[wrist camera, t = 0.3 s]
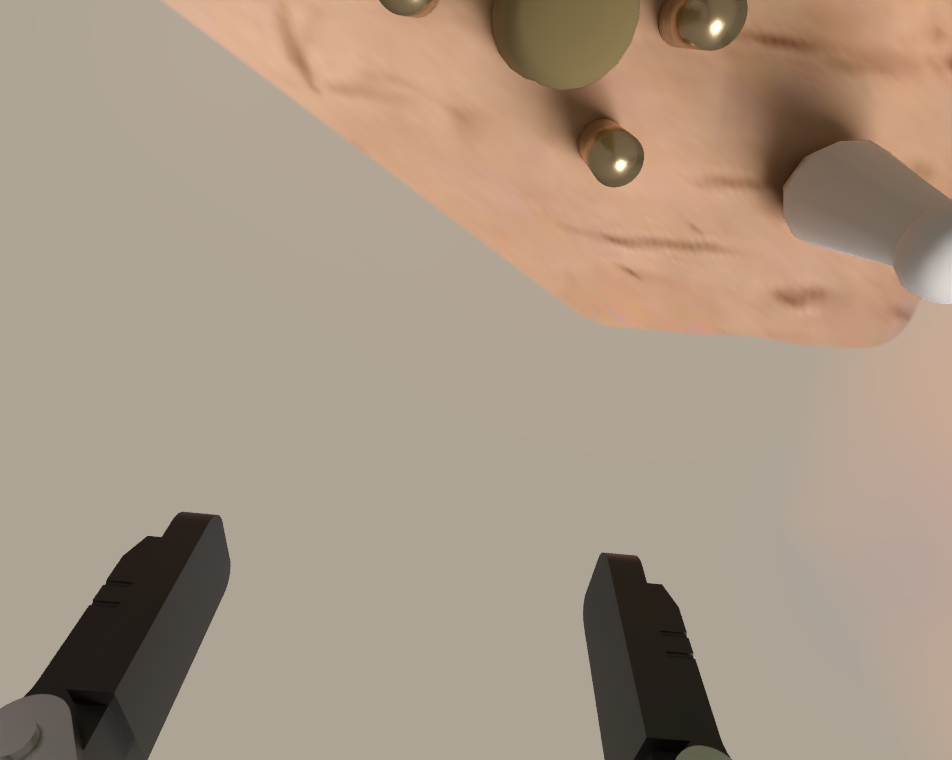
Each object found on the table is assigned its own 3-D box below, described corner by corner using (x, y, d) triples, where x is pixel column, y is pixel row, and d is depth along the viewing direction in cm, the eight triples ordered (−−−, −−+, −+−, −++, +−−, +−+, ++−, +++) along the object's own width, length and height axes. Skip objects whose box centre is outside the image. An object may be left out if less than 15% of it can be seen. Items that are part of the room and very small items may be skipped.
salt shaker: (746, 208, 34) (869, 294, 23) (813, 114, 31) (989, 161, 20) (821, 247, 35) (972, 347, 24) (892, 160, 32) (1100, 228, 21)
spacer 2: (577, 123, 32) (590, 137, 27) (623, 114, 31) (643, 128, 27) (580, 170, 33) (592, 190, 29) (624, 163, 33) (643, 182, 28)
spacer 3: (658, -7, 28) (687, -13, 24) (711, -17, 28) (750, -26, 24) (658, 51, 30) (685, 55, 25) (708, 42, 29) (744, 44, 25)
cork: (486, 78, 31) (484, 99, 21) (496, -61, 27) (497, -108, 18) (596, 86, 31) (641, 111, 21) (618, -52, 27) (682, -93, 18)
